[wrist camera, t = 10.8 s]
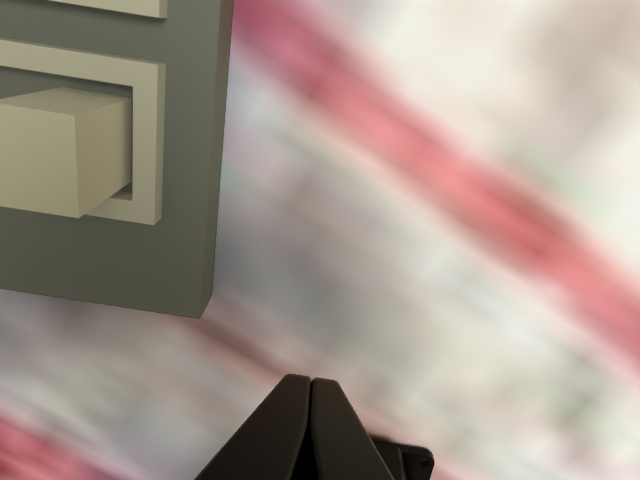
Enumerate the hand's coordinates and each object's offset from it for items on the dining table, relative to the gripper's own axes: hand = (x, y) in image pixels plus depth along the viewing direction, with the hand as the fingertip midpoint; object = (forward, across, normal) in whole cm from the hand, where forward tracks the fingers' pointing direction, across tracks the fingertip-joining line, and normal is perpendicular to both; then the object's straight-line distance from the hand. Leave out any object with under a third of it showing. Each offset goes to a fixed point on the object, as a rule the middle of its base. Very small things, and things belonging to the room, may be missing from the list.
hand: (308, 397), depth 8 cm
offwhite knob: (+11, +8, -1) cm, 14 cm away
